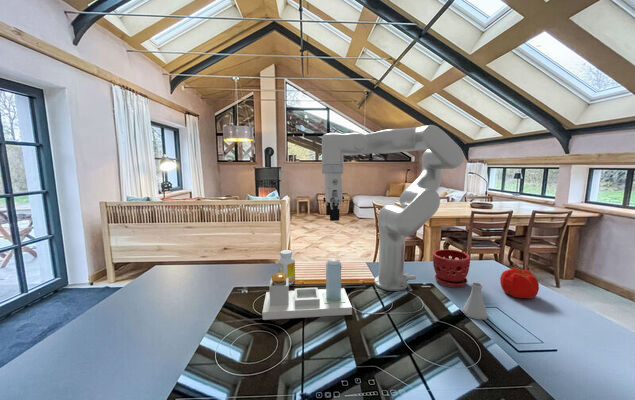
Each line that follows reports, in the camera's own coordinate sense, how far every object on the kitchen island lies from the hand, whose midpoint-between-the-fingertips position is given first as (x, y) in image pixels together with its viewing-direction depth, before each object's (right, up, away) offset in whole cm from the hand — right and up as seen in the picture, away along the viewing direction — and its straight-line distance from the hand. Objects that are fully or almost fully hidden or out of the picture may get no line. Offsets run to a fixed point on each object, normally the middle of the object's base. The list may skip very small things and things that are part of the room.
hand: (332, 217), depth 96 cm
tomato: (+68, -28, +1) cm, 73 cm away
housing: (-9, -29, -6) cm, 31 cm away
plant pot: (+48, -27, +11) cm, 56 cm away
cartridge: (0, -27, -5) cm, 27 cm away
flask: (+45, -30, -11) cm, 55 cm away
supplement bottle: (-18, -27, +12) cm, 35 cm away
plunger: (-18, -27, -7) cm, 33 cm away
